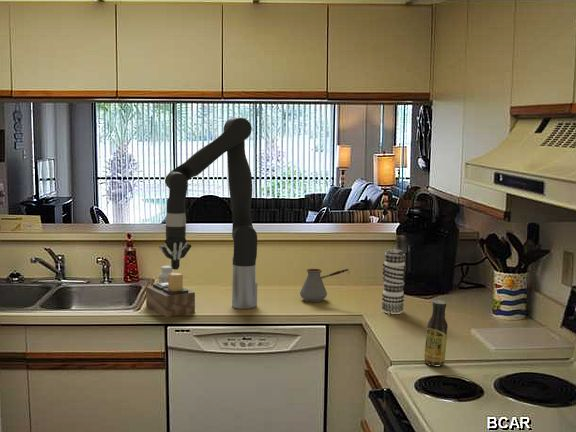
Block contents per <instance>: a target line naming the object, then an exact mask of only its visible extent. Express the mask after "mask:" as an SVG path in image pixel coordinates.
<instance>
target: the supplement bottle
mask: <svg viewBox="0 0 576 432" xmlns="http://www.w3.org/2000/svg"><path fill="white" fill-rule="evenodd" d="M160 269H161V272H160V273H158V283H165V282H168V274H171V273H174V272H173V269H172V267H171V265H163V266H161V267H160Z"/></svg>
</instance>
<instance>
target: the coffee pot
mask: <svg viewBox="0 0 576 432" xmlns="http://www.w3.org/2000/svg"><path fill="white" fill-rule="evenodd" d="M306 272H307V276H306V278H305V279H304V280H305V281H304V283H303V285H302V286H301V289H300V291H299V295H300V297H301V298H302V299H303V300H304V301H305V300H306V301H305V302H308V301H309V303H321V302H323V300H324V299H326V298H327V296H328V291H327V289H326V287H325V284H324V282H323V280H322V279H325V278H328V277H333V276H337V275H339V274H342V273H345V272H347V274H348V275H350V273H351V272H350V270H349V268H345V269H342V270H337V271H335V272H332V273H329V274H327V275H322V276H321V274H322V272H323V271H322V269H320V268H308V269H306ZM320 301H321V302H320Z"/></svg>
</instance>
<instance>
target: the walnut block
mask: <svg viewBox="0 0 576 432" xmlns="http://www.w3.org/2000/svg"><path fill="white" fill-rule="evenodd" d="M165 283H168V282H165ZM158 284H161V283H159V282H158V283H157V282H156V283H152V285H150V286H145V293H146V294H145V299H146V300H145V303H146V304H145V306H147V308H149V309H150V310H152V311H154V312H155V313H157V314H160V315H161V316H163V317H166V318H170V317H176V316H182V315H183V316H184V315H189V314H190V315H191V314H195V313H196V292H195V291H193V290H191V289H189V288H185V287H183V290H180V291H170V290H168V286H164V287H162V286H160V285H158Z"/></svg>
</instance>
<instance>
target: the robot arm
mask: <svg viewBox="0 0 576 432" xmlns="http://www.w3.org/2000/svg"><path fill="white" fill-rule="evenodd" d="M252 131H253V130H252V124H251V122H250V121H249V120H248V119H247V118H245V117H239V116H238V117H237V116H236V117H230V118H229V119H227V120H226V122H224V126H223V133H221V134H220V135H219V136H218V137H217V138H216V139H214V140H213V141H211V142H210V143H208V144H206V145H205V146H203V147H202V148H200V149H199V150H197V151H196V152H195V153H193V154H192V155H191V156H190V157H188V158H187V160H186V161H184V162H183V163H182V164H179V165H178V166H177V167H175V168H174V169H172V170H171V171H170V172H168V173H167V175H166V176H165V179H164V183H165V186H166V187H167V188H168V189H169V191H168V193H169V194H168V198H167V199H166V215H165V240H164V244H162V245H160V246H159V247H158V248H159V249H160V250H161V252H162V253H163V255H164V256H165V257H166V258H167V259H170V260H171V261H170V262H171V263H170V264H171V265H170V266H171V267H172V270H174V271H175V270H177V271H178V270H179V268H180V260H181V259H182V258H185V257H186V255H187V254H188V253H189V251H190V249H191V247H192V245H191V243H188V241H187V239H186V234H187V233H186V231H187V229H186V228H187V224H186V223H187V217H186V198H187V193H188V181H189V180H190V179H192V178H195V177H196V176H197V177H198V175H200V174H202V172H203V171H205V170H206V169H207V168H208V167H209V166H211V165H212V164H213V163H214V162H215V161H216V160H217V159H219V158H220V157H221V156H222V155H223V154H225V153H226V154H227V173H228V174H227V175H228V176H227V178H228V189H229V190H228V191H229V199H230V205H231V210H232V226H231V227H232V228H231V236H232V241H233V255H232V273H231V274H232V283H231V284H232V285H231V286H232V288H231V291H232V292H231V294H232V295H231V302H232V303H231V307H233V308H234V309H240V310H241V309H242V310H249V309H252V308H255V307H258V282H256V273H257V272H256V269H257V268H256V266H257V263H256V262H257V257H258V256H257V255H258V233H257V231H256V230H255V229H254V227H253V226H254V225H253V222H252V220H253V219H252V214H251V213H252V212H251V211H252V210H251V209H252V208H251V207H252V199H253V176H252V171H251V168H250V164H249V162H248V159H247V155H246V148H245V147H246V146H245V145H246V144H245V141H246V140H247V139H249V137H250V136H251V133H252ZM168 250H169V251H168Z"/></svg>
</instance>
